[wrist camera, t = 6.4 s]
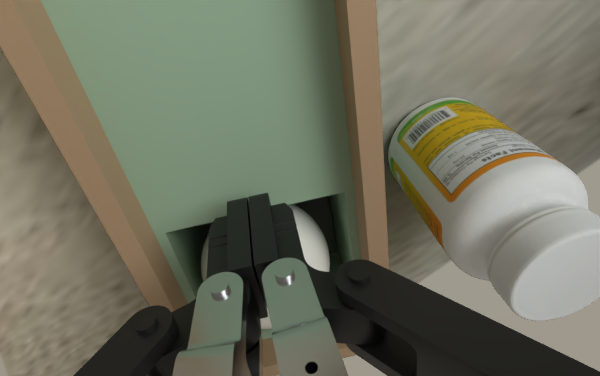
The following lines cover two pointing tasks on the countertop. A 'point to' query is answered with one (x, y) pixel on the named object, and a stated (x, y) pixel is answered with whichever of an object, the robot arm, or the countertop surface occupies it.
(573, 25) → the countertop surface
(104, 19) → the runway
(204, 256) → the ball
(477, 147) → the supplement bottle
